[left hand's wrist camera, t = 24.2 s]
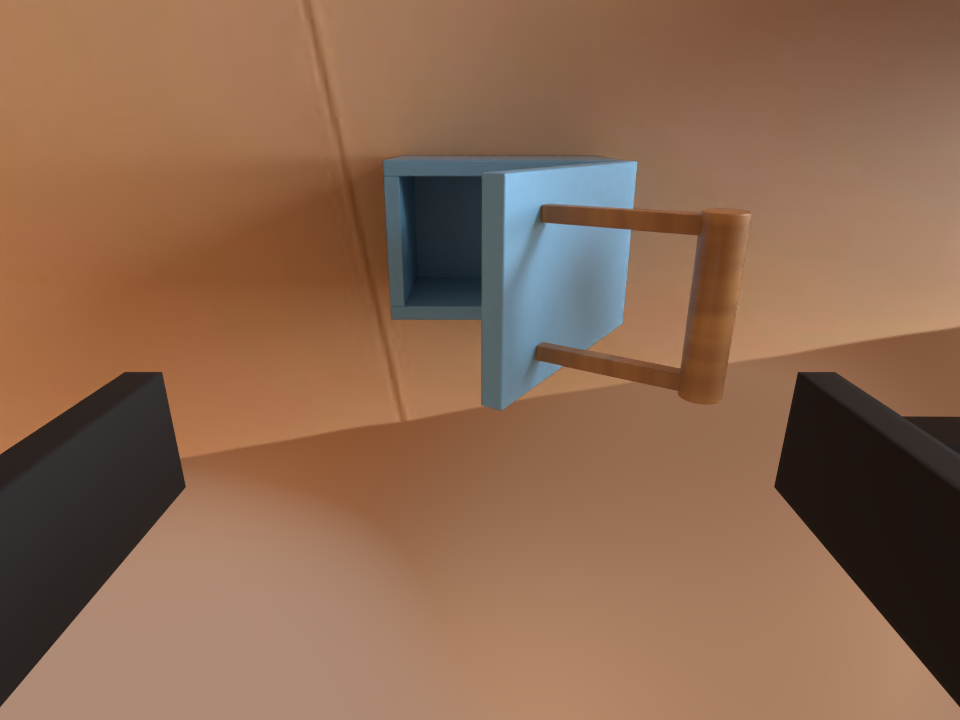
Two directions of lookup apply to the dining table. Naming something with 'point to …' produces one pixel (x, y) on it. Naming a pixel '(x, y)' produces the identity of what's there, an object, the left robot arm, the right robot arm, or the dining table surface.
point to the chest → (443, 230)
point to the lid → (593, 280)
